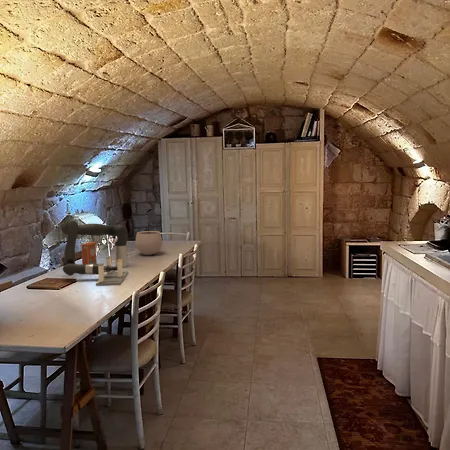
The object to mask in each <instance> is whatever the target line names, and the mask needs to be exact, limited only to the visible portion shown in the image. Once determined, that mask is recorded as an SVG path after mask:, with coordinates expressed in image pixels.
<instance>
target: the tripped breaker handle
mask: <svg viewBox="0 0 450 450" xmlns="http://www.w3.org/2000/svg"><path fill="white" fill-rule="evenodd" d="M117 268H118V270H117V272H118V277H122V276H123V274H122V271H123V267H122V259H118V260H117Z"/></svg>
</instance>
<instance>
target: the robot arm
mask: <svg viewBox="0 0 450 450" xmlns="http://www.w3.org/2000/svg"><path fill="white" fill-rule="evenodd" d="M60 229H61V232H62V234H63V235H66V236H67V240H66V243H65V248H64V258H63V259H64V262H65V264H64V265H63V267H62V271H63V273H64V274H65V275H67V276H73V275H75V274H78V275H89V276H90V275H99V270H98V265H99V264H100V263H97V264H82V263H81V264H77V263H76V259H75V258H76V243H77V236H78V235H83V236H94V237H98V236H99V237H100V236H113V237H116V241H115V242H114V258H115V259H114V260H115V261H114V263H115V266H113V265H111V266H108V265H107V264H106V265H104V273H106V272H110V271H112V272H114V271H118V268H117V260H118V259H122V268H127V267H128V266H129V262H128V261H129V259H128V249H127V243H128V228H127V227H126V226H124V225H119V224H116V225H115V224H114V225H107V224H102V223H85V224H78V222H77V221H76V220H73V219H70V220H68V221H66V222H65V223H63V224H62V226H61V228H60Z"/></svg>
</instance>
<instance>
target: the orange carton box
mask: <svg viewBox="0 0 450 450" xmlns="http://www.w3.org/2000/svg"><path fill="white" fill-rule="evenodd" d="M96 243H97V242H96V241H88V242H85V243H81V246H80V247H81V248H80V249H81V264H98V263H97V260H98V259H97V246H96Z"/></svg>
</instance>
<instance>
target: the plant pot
mask: <svg viewBox="0 0 450 450" xmlns="http://www.w3.org/2000/svg"><path fill="white" fill-rule="evenodd" d="M150 226H151V224H149V223H147V231H146V230H145V231H138V232H136V236H135V247H136V249H137V250H138V252H139V253H141V254H142V255H145V256H152V254H153V255H155V254H156V255H157V253H158V252H159V251H160V250H161V248H162V244H163V238H162V235H161V231H157V230H151V229H153V226H151V227H150Z"/></svg>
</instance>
